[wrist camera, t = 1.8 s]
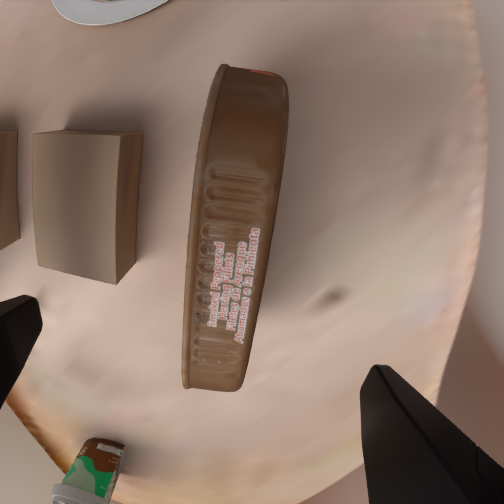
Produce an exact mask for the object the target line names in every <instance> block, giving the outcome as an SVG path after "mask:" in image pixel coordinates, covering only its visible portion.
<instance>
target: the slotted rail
mask: <svg viewBox="0 0 504 504" xmlns="http://www.w3.org/2000/svg"><path fill="white" fill-rule="evenodd" d="M17 132H18V131H2V132H0V250H1V249H3V248H5V247H6V246H8V245H10V244H11V243H13V242H15V241H16V240H18V239H20V232H19V221H18V206H17V180H16V158H17ZM142 143H143V133H129V132H112V131H87V130H59V131H51V132H43V133H36V134H33V156H32V195H33V217H34V231H35V242H36V252H37V260H38V266H42V267H45V268H49V269H53V270H57V271H61V272H64V273H68V274H72V275H76V276H80V277H84V278H89V279H93V280H97V281H101V282H105V283H110V284H114V285H117V284H118V283H119V281H120V280H121V279H122V278H123V277H124V276H125V274H126V273H127V272H128V271H129V270H130V269H131V268H132V267H133V265H134V264H135V263H136V227H137V205H138V189H139V175H140V164H141V153H142Z"/></svg>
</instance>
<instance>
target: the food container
mask: <svg viewBox="0 0 504 504" xmlns="http://www.w3.org/2000/svg"><path fill="white" fill-rule="evenodd" d="M124 447H125V445H122V444H119V443H117V442H114V441H110V440H106V439H100V438H91V439H88V440H87V441H86V442H85V444H84V445H83V447H82V449H81V450H80V452H79V454H78V455H77V457H76V459H75V460H74V462H73V464H72V466H71V467H70V469H69V471H68V472H67V474H66V476H65V478H64V479H63V481H62V483H61V484H54V485H53V489H52V495H51V496H52V504H109V502H110V499H111V496H112V493H113V491H114V488H115V485H116V482H117V479H118V476H119V473H120V468H121V463H122V457H123V452H124Z"/></svg>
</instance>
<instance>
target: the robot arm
mask: <svg viewBox="0 0 504 504" xmlns="http://www.w3.org/2000/svg"><path fill="white" fill-rule="evenodd" d="M42 326H43V322H42V317H41V313H40V308H39V303H38V301H37V299H36V298H34V297H32V296H29V295H21V296H18V297H15V298H12V299H9V300H6V301H3V302H0V409H1V407H2V405H3V403H4V402H5V400H6V398H7V396H8V394H9V393H10V391H11V389H12V387H13V385H14V384H15V382H16V380H17V378H18V377H19V375H20V373H21V371H22V369H23V367H24V365H25V363H26V361H27V359H28V357H29V355H30V353H31V350H32V348H33V346H34V344H35V342H36V340H37V338H38V336H39V334H40V332H41V330H42ZM360 409H361V437H362V449H363V457H364V464H365V472H366V480H367V488H368V497H369V504H504V468H503V467H501V466H500V465H499V464H497V462H495V461H494V460H493V459H492V458H490V456H489V455H487V454H486V453H485V452H484V451H483V450H482V449H481V448H480V447H479V446H476V444H475V443H474V442H473V441H472V440H471V439H470V438H469V437H467V436H466V435H465V434H464V433H463V432H462V431H461V430H460V429H459V428H458V427H457V426H455V425H454V424H453V423H452V422H451V421H450V420H449V419H448V418H446V417H445V416H444V415H443V414H442V413H441V412H440V411H439V410H438V409H437V408H436V407H434V406H433V405H432V404H431V403H430V402H429V401H428V400H427V399H426V398H424V397H423V396H422V395H421V394H420V393H419V392H418V391H417V390H416V389H414V388H413V387H412V386H411V385H410V384H409V383H408V382H407V381H406V380H404V379H403V378H402V377H401V376H400V375H399V374H398V373H397V372H395V371H394V370H393V369H392V368H391V367H390V366H388V365H378V364H376V365H373V366H372V367H371V369H370V371H369V373H368V375H367V377H366V379H365V381H364V383H363V384H362V387H361V390H360Z"/></svg>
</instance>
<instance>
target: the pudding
mask: <svg viewBox="0 0 504 504" xmlns="http://www.w3.org/2000/svg"><path fill="white" fill-rule="evenodd" d="M109 1H113V0H109ZM166 1H168V0H123V1H117V2H112V3H100V2H94V1H91V0H52V3H53V5H54V7H55V8H56V10H57V11H58V13H60V14H61V15H62V16H63V17H64V18H66V19H67V20H70V21H72V22H74V23H78V24H83V25H106V24H112V23H117V22H121V21H124V20H127V19H131V18H134V17H136V16H138V15H141V14H143V13H145V12H148V11H150V10H152V9H154V8H155V7H157V6H159V5H161V4H163V3H165V2H166Z"/></svg>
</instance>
